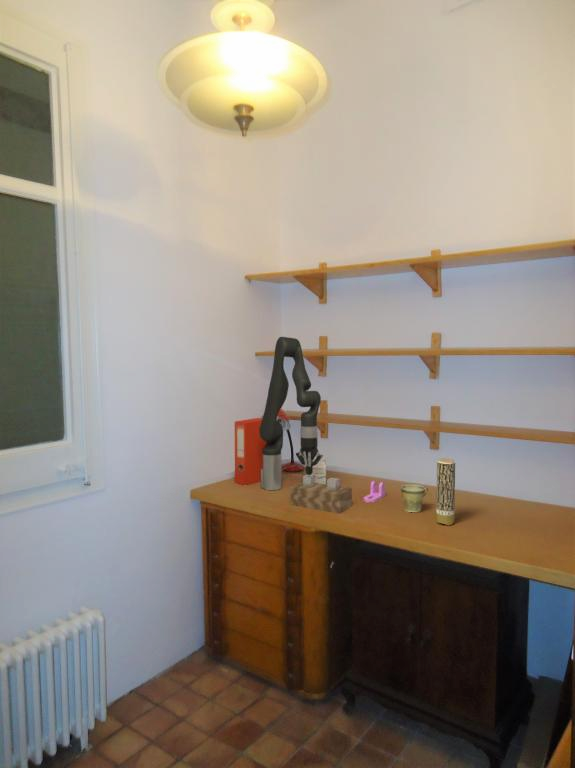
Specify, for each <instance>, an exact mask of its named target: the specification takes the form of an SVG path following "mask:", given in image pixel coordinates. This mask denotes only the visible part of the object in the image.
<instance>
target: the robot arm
mask: <svg viewBox="0 0 575 768" xmlns="http://www.w3.org/2000/svg"><path fill="white" fill-rule="evenodd" d="M302 349H303V348H302V346H301V343H300V341H299V339H298V338H295V337H294V338H293V337H287V336H280V337H278V339H277V340H276V342H275V348H274V356H273V366H272V372H271V376H270V381H269V385H268V391H267V397H266V402H265V407H264V408H265V409H264V411H263V415H262V421H261V425H260V429H259V434H260V437H261V438H262V440H264V441H267V442H266V445H265V446H264V447H263V450H262V456H263V468H262V469H261V482H260V488H261V489H263V490H265V491H278V490H281V489H282V449H283V446H284V428H283V425H282V424H281V422H279V421H278V420H277V418H278V415H279V413H280V411H281V409H282V407H283V406H284V404H285V402H286V400H287V397H288V392H289V387H290V386H289V380H288V377H287V374H286V372H285V369H284V368H285V367H284V364H285V363H284V360H285V357H286V358H292V359H293V361H294V366H293V368H292V372H291V377H292V381H293V383H294V386H295V391H296V403H297V405H298V406H300V407H301V408H309V410H308V411H305V412H302V413H301V415H300V435H299V436H300V449H299V451H298V452H296V453H295V456H296V457H297V458H298V460H299V462H300V463H301V465H304V466H305V473H306V475H311V474H312V473H313V466H314V465H317V463H318V462H320V459H323V456H324V455H323V454H321V453H319V449H318V446H319V445H318V442H319V441H318V413H319V409H320V405H321V399H322V397H321V394H320V393H319V391H318V390H310V389H311V387H312V383H311V380H310V377H309V375H308V372H307V369H306V365H305V360H304V355H303V350H302ZM314 458H316V459H315V461H314Z"/></svg>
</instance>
